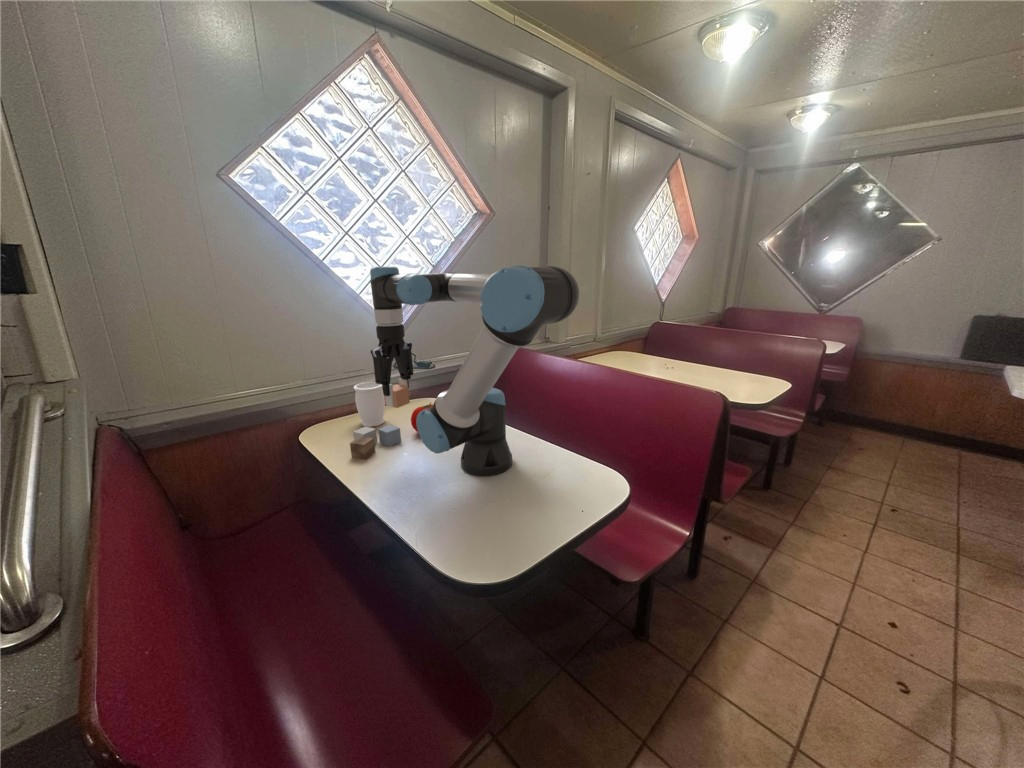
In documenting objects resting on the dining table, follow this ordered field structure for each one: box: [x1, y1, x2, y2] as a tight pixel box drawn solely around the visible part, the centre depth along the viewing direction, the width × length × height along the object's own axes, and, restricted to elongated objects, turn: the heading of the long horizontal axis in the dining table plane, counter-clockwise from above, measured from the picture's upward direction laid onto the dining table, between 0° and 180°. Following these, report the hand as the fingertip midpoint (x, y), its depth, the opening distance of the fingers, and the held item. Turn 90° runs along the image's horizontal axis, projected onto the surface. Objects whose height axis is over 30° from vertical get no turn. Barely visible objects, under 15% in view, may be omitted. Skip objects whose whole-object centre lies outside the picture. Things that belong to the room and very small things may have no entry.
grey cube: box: [352, 426, 378, 445], centre depth 131 cm, size 5×5×5 cm
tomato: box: [410, 402, 433, 433], centre depth 139 cm, size 11×13×10 cm
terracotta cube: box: [384, 384, 411, 409], centre depth 117 cm, size 5×5×5 cm
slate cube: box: [377, 424, 402, 447], centre depth 132 cm, size 5×5×5 cm
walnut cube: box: [349, 437, 376, 460], centre depth 123 cm, size 5×5×5 cm
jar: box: [353, 381, 386, 428], centre depth 148 cm, size 11×10×15 cm
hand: (397, 402), depth 117 cm, fingers closed on terracotta cube, 5 cm apart
